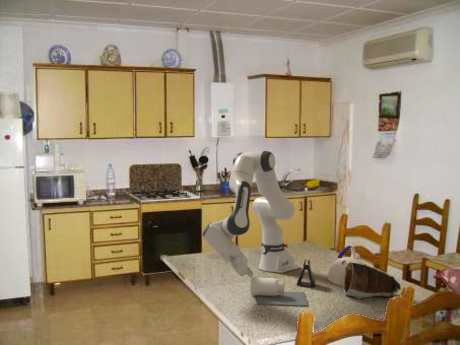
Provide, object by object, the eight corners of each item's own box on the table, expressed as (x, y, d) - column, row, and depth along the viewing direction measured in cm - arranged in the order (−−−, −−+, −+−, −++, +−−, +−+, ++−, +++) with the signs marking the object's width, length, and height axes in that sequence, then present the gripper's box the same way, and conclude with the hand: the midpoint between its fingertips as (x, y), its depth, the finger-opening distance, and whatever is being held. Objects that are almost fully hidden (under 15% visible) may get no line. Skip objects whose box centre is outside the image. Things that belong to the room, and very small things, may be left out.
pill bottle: (253, 278, 217) (285, 281, 214) (251, 296, 214) (284, 298, 210) (250, 275, 210) (283, 277, 207) (249, 293, 206) (282, 295, 203)
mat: (257, 304, 200) (257, 303, 200) (256, 291, 216) (256, 290, 216) (307, 306, 199) (308, 305, 199) (303, 293, 215) (303, 292, 215)
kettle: (375, 280, 237) (377, 246, 236) (356, 290, 222) (357, 253, 220) (340, 271, 251) (341, 239, 249) (319, 280, 236) (321, 245, 234)
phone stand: (315, 283, 230) (316, 260, 229) (314, 287, 224) (315, 263, 223) (297, 281, 232) (298, 258, 231) (296, 285, 226) (297, 261, 225)
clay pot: (409, 276, 207) (354, 264, 207) (402, 309, 206) (347, 297, 206) (397, 270, 221) (346, 259, 222) (391, 301, 221) (340, 290, 221)
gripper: (235, 255, 196) (257, 278, 197) (236, 243, 217) (256, 264, 217) (224, 265, 197) (246, 288, 197) (226, 252, 217) (247, 273, 218)
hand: (252, 275), depth 207 cm, fingers closed
